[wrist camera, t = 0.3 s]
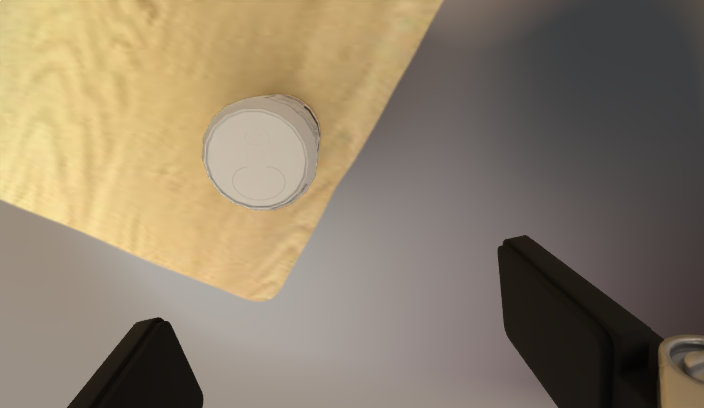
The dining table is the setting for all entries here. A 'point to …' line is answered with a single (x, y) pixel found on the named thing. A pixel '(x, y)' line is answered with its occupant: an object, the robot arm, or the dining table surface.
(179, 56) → the dining table surface
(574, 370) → the robot arm
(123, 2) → the dining table surface
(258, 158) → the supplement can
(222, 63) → the dining table surface
